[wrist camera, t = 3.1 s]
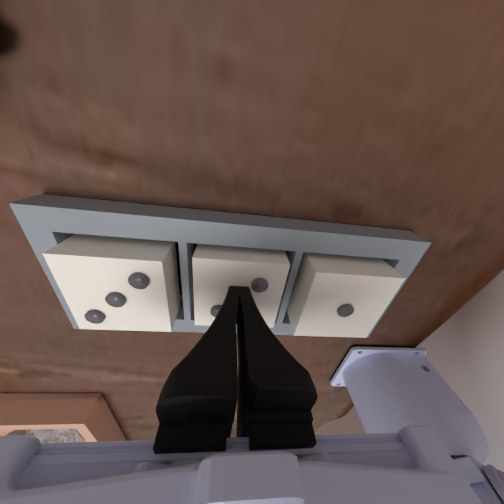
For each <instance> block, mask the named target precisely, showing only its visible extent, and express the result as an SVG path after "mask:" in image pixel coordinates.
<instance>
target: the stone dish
mask: <svg viewBox="0 0 504 504" xmlns="http://www.w3.org/2000/svg"><path fill="white" fill-rule="evenodd" d="M72 428H76V429H77V430H78V432H79V433H80V434H81V435H82V436H83V438H84V439H85V440H86V441H84V442H102V441H127V440H126V438H125V436H124V434H123V432H122V431H121V429H120V427H119V425H118V423H117V422H116V420H115V418H114V416H113V414H112V413H111V411H110V409H109V407H108V405H107V404H106V402H105V400H104V398H103V396H102V395H101V393H0V436H6V435H7V434H8V433H10V432H12V431H14V430H26V429H72Z"/></svg>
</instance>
